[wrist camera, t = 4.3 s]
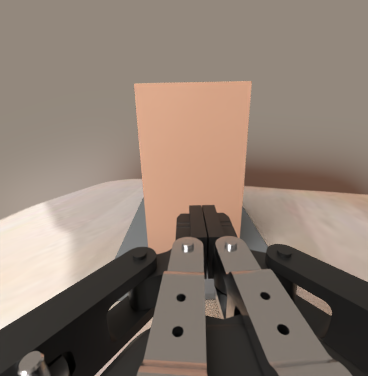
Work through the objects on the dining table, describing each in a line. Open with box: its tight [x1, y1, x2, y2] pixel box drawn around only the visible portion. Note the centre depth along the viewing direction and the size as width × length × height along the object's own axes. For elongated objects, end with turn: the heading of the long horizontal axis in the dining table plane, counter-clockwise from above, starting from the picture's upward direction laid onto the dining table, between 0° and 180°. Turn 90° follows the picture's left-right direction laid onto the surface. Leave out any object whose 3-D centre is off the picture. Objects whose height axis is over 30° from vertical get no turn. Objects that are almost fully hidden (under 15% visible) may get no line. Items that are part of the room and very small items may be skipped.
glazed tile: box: [134, 81, 252, 254], centre depth 20 cm, size 2×9×16 cm, turn 90°
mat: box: [115, 197, 268, 301], centre depth 29 cm, size 24×16×1 cm, turn 0°
